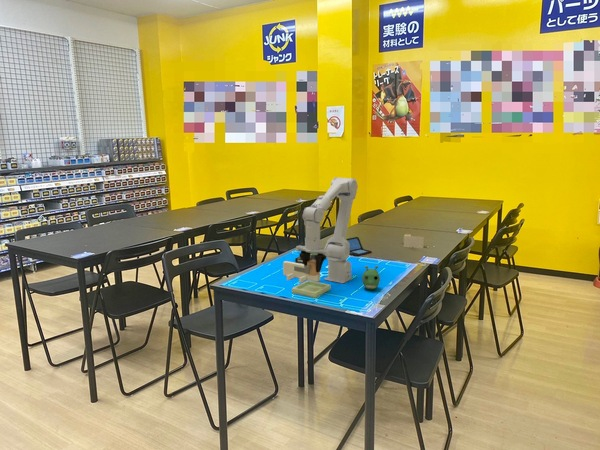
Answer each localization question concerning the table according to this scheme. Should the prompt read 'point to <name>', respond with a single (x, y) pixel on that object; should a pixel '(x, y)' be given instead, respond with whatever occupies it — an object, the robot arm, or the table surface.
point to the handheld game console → (357, 247)
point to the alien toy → (371, 278)
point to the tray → (311, 289)
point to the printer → (297, 272)
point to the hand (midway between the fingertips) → (312, 270)
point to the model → (413, 241)
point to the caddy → (311, 268)
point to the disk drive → (312, 257)
